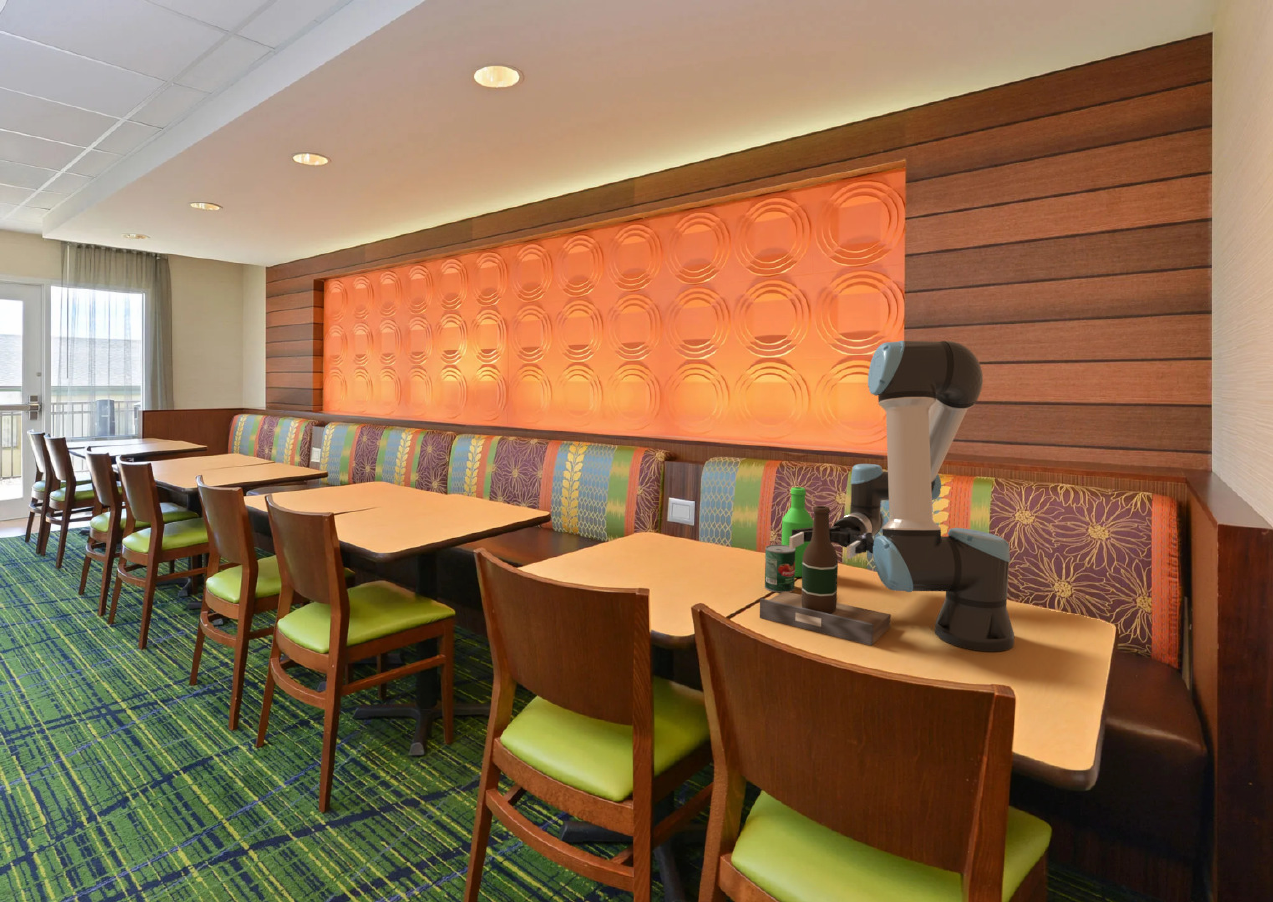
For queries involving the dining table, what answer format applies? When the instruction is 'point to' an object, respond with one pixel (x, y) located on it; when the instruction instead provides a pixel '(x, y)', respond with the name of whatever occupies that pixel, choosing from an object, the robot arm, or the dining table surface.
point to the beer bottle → (820, 567)
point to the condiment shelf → (827, 618)
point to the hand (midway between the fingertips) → (818, 547)
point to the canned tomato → (779, 568)
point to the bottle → (796, 524)
